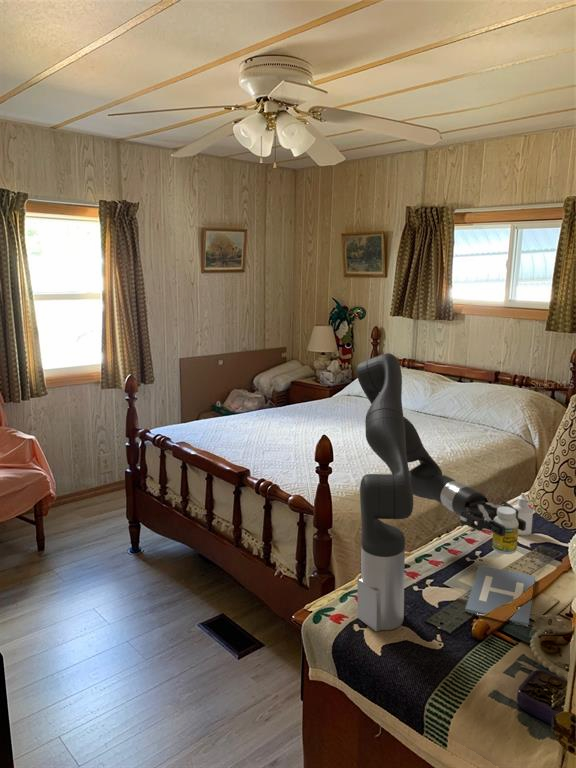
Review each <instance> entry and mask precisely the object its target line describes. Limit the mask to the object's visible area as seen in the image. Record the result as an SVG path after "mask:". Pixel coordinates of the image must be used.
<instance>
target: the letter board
mask: <svg viewBox="0 0 576 768" xmlns="http://www.w3.org/2000/svg"><path fill="white" fill-rule="evenodd" d="M534 582H535V583H536V575H531V574H527V573H522V572H515V571H512V570H511V571H510V570H507V569H501V568H496V567H492V566H488V565H487V566H486V565H481V564H479V565H478V569H477V571H476V575H475V577H474V580H473V583H472V587H471V590H470V593H469V596H468V599H467V602H466V605H465V608H464V611H468V612H472V613H476V614H477V613H478V614H487V613H488V612H491V611H492V610H494V609H495V608H496V607H499V606H501V605H504V604H507V603H509V602H511V601H513V600H514V599H516V598H518V597H519V596H520V595H521V594H522V593H523V592H524V591H526V590H527V589H528V588H529V587H530V586H532V585H533V584H534V585H535V583H534ZM531 604H533V599H532V600H531V601H529V602H528V603H526V604H524V605H523V606H521V607H518V609H517V611H516V613H515V614H514V615H513V616H512V617H511V618H510V619H509V620H510V621H512V622H516V623H520V624H523V625H529V626H530V620H531V619H530V618H531V613H530V611H532V605H531ZM529 619H530V620H529Z"/></svg>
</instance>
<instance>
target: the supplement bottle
mask: <svg viewBox="0 0 576 768" xmlns="http://www.w3.org/2000/svg"><path fill="white" fill-rule="evenodd" d="M515 517H516V510H515V509H513V508H510V507H499V508H498V509H497V516H496V517H495V518H494V520H493V521H495V522H497V523H499V524H500V525H502V526H504V527H505V536H500V535H498V534H495V533H494V532H492V542H491V547H492V549H493V550H494V551H495V552H497V553H499V554H503V555H513V554H515V553H516V552H517V550H518V541H519V539H518V536H519V535H518V525H519V523H518V520H517V519H516V518H515Z"/></svg>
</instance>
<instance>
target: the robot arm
mask: <svg viewBox="0 0 576 768" xmlns="http://www.w3.org/2000/svg"><path fill="white" fill-rule="evenodd" d="M355 371H356V376H357V380H358V383H359V385H360V387H361V389H362V391H363V393H364V394H365V396H366V398H367V399H368V401H369V403H370V404H371V405H370V406H369V408H368V409H367V412H366V415H365V422H364V423H365V438H366V439H365V440H366V442H367V444H368V445H369V447H370V448H371V450H372V451H373V452H374V453H375V455H377V456H378V458H380V459H381V461H383V462H384V463H385V465H386V466H387V467H388V469H389V470H390V472H391V473H388V474H387V473H366V474H364V475H363V476H362V477H361V480H360V485H359V501H360V502H359V503H360V516H361V517H360V519H361V539H360V540H361V541H360V546H361V547H360V551H361V552H360V561H361V563H360V565H361V567H360V569H361V570H360V576H361V577H360V578H358V579H357V619H358V620H360V621H361V622H362V623H364V624H365V625H367V626H368V627H369V628H370V629H372V630H373V631H374V632H375V633H376V632H379V631H389V630H394V629H396V628H399V627H400V626H402V624H403V623H404V615H405V614H404V613H405V562H406V561H405V559H406V558H405V556H406V554H405V553H406V538H405V535H404V533H403V532H402V530H400V529H399V528H397V527H395V526H393V525H390V524H388V523H385V522H384V521H382V520H405V519H408V518H410V517H411V515H412V514H413V510H414V496H416V497H418V498H423V499H427V500H432V501H436V502H437V503H439V504H441V505H443V506H444V507H445V508H447V509H448V510H449V511H450V512H452V513H454V514H456V515H457V516H459V522H460V524H463V525H464V526H467V527H469V528H471V529H474V530H476V531H479V532H482V531H483V530H486V531H491V532H492V533H493V532H494V533H495V534H498V535H500V536H505V527H504V526H502V525H500V524H499V523H497V522H495V521H493V520H494V518H495V517H496V516H497V509H498V508H499V507H510V508H513V509H515V508H514V507H512V506H513V505H511V504H510V503H508V502H507V501H501V504H496V503H494V502H490V501H489V500H488V498H487V496H486V495H485V494H484V493H482V492H480V491H479V490H476V489H474V488H473V487H470V486H468V485H467V484H465V483H462V482H460V481H457V480H456V479H453V478H452V477H450V476H448V475H443V471H442V469H441V467H440V466H439V465H438V464H437V462H436V461H435V459H433V458H432V456H431V455H430V454H429V452H428V451H427V450H426V448H425V446H424V444H423V443H422V440H421V438H420V436H419V433H418V431H417V429H416V427H415V425H414V424H413V422H412V421H410V420H409V419H408V418H406V417H405V416H404V412H403V409H404V408H403V403H402V402H403V401H402V399H403V398H402V394H403V392H402V391H403V376H402V369H401V365H400V362H399V360H398V358H396V356H395V355H394V354H392V353H389V352H388V353H382V354H380V355H377V356H375V357H372V358H369V359H367V360H364V361H363V362H360V363H358V364H357V366H356V370H355ZM417 461H418V462H419V464H417V466H415V467H413V468H411V469H410V468H409V463H413V462H417ZM515 510H516V517H515V518H516V519H517V520H518V523H519V525H518V529H520V530H521V531H524V530H526V522H525V521H524V520H522V519H520V518H518V513H519V511H518V510H517V509H515ZM475 523H476V524H475Z"/></svg>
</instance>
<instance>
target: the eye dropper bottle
mask: <svg viewBox="0 0 576 768" xmlns="http://www.w3.org/2000/svg"><path fill="white" fill-rule="evenodd" d="M511 506H512V507H514V508H515V509H517V510H518V511H519V513H518V518H520V519H522V520H524V521H525V522H526V530H524V531H521V530H520V529H518V536H530V535H532V531H533V530H532V529H533V517H534V514H533V511H534V510H533V508H532V507H531V506H530V505H528V497H526V496H525V493H524V492H521V494H520V495H519V496H518V497H517V503H516V504H514V505H511ZM529 506H530V507H531V508H532V509H531V508H530V507H529Z"/></svg>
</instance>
